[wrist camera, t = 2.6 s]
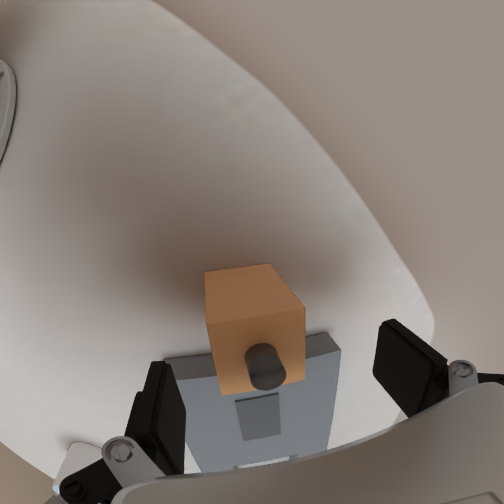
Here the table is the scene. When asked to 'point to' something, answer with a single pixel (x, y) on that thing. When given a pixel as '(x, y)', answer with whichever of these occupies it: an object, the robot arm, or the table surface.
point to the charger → (254, 329)
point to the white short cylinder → (76, 461)
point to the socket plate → (258, 411)
